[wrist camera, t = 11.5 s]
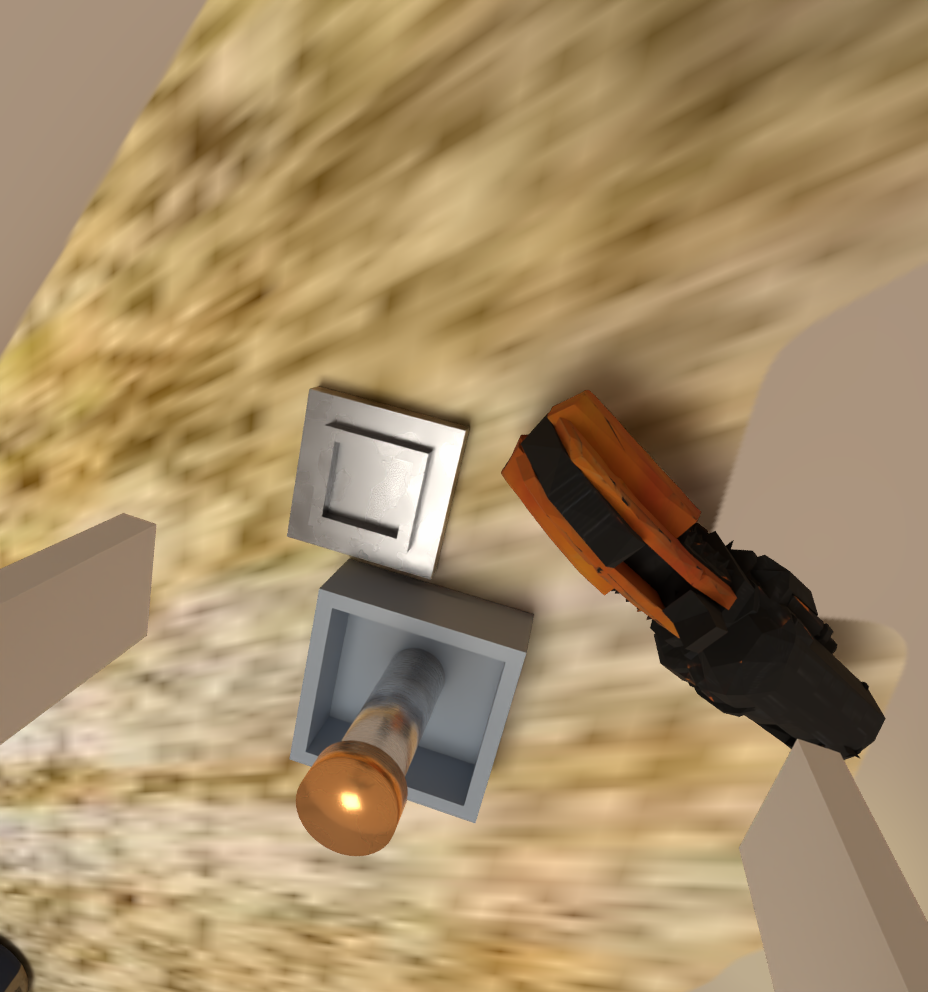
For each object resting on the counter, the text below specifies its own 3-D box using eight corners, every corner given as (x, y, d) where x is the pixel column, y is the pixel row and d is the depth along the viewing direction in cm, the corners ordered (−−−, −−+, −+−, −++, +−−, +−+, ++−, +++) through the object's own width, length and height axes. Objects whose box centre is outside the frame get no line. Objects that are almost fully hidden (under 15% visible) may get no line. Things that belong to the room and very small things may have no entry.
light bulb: (370, 647, 44) (281, 773, 31) (440, 633, 42) (376, 759, 30) (394, 713, 45) (316, 860, 32) (463, 702, 43) (409, 850, 31)
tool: (693, 614, 47) (800, 804, 34) (469, 434, 38) (502, 604, 25) (785, 546, 44) (940, 725, 32) (568, 334, 35) (662, 467, 22)
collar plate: (319, 386, 40) (302, 390, 38) (470, 426, 39) (462, 434, 37) (296, 529, 43) (279, 541, 41) (436, 570, 42) (426, 585, 40)
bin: (349, 558, 43) (319, 588, 39) (533, 614, 42) (526, 652, 37) (319, 714, 47) (289, 759, 43) (487, 771, 46) (475, 823, 41)
